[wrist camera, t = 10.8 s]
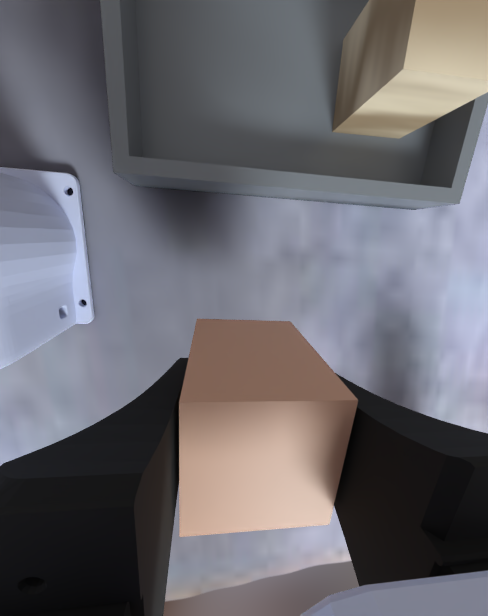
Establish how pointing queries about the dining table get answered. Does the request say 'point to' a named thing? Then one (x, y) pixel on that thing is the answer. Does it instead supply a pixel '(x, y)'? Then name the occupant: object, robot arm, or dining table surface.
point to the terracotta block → (259, 430)
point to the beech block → (410, 65)
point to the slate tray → (262, 107)
